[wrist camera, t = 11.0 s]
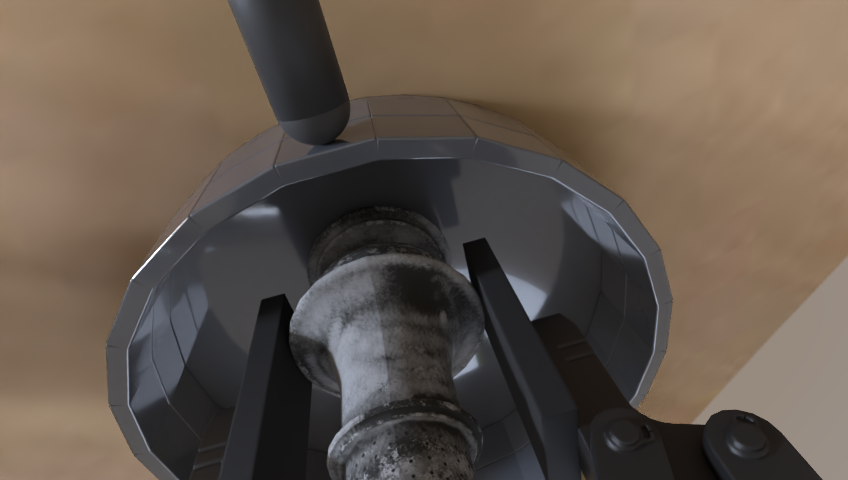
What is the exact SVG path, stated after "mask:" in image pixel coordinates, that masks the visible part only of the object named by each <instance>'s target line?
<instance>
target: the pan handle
mask: <svg viewBox="0 0 848 480" xmlns="http://www.w3.org/2000/svg"><path fill="white" fill-rule="evenodd" d="M228 2H229V4H230V7H231V9H232V12H233V14H234V17H235V19H236V21H237V24H238V26H239V29H240V31H241V34H242V36H243V38H244V41H245V43H246V46H247V48H248V51H249V53H250V55H251V58H252V60H253V63H254V65H255V68H256V70H257V72H258V75H259V77H260V80H261V82H262V85H263V87H264V89H265V92H266V94H267V97H268V99H269V102H270V104H271V107H272V109H273V111H274V114H275V116H276V119H277V121H278V123H279V124H280V126H281V127H282V129H283V130H284V131H285V132H286V133H287V134H288V135H289V136H290V137H291V138H293V139H295V140H296V141H298V142H301V143H304V144H307V145H322V144H326V143H328V142H331V141H333V140H334V139H336V138H337V137H338V136H339V135H340V134H341V133H342V132H343V131H344V129H345V128H346V126H347V124H348V121H349V117H350V101H349V96H348V93H347V90H346V87H345V84H344V80H343V77H342V74H341V71H340V67H339V64H338V61H337V58H336V55H335V51H334V48H333V45H332V42H331V38H330V35H329V32H328V29H327V26H326V22H325V19H324V16H323V13H322V10H321V6H320V3H319V0H228Z"/></svg>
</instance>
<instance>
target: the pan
mask: <svg viewBox="0 0 848 480" xmlns="http://www.w3.org/2000/svg"><path fill="white" fill-rule="evenodd" d="M381 205H385V206H394V207H403V208H406V209H408V210H411V211H414V212H416V213H419V214H421V215H423V216H424V217H425V218H427V219H428V220H430V221H431V222H432V223H434V224H435V225H436V226H437V227H438V229H439V230H440V231H441V233H442V234H443V235H444V237H445V238H446V241H447V244H448V246H449V249H450V252H451V261H452V268H454V269H455V270H457V271H458V272H460V273H461V274H463V275H464V276H465V277H466V278H467V279H468V280H469V282H470V277H469V273H468V268H467V263H466V258H465V253H464V249H463V243H466V242H470V241H474V240H477V239H481V238H484V237H485V238H486V240H487V242H488V243H489V245H490V247H491V249H492V251H493V253H494V254H495V256H496V258H497V260H498V262H499V264H500V265H501V267H502V269H503V271H504V273H505V275H506V276H507V278H508V280H509V282H510V284H511V286H512V287H513V289H514V291H515V293H516V295H517V297H518V298H519V300H520V302H521V304H522V306H523V308H524V309H525V311H526V313H527V315H528V317H529V319H530V320H531V321H533V320H536V319H540V318H543V317H547V316H550V315H554V314H557V313H560V314H562V315H563V316H565V317H566V318H568V319H569V320H571V321H572V322H574V323H575V324H576V325H577V327H578V328H579V330H580V331H581V333H582V334H583V336H584V337H585V339H586V342H588V343H589V345H590V346H591V348H592V349H593V351H594V354H596V355H597V357H598V358H599V360H600V361H601V363H602V364H603V366H604V367H605V369H606V370H607V372H608V373H609V375H610V376H611V378H612V379H613V381H614V382H615V384H616V385H617V387H618V388H619V390H620V391H621V393H622V394H623V396H624V397H625V399H626V400H627V401H628V402H629V404H630V405H631V406H632V407H633V408H634V409H636V408H637V407H638V405H639V404H640V403H641V401H642V400H643V399H644V398H645V396H646V394H647V393H648V391H649V388H650V386H651V384H652V382H653V379H654V377H655V375H656V373H657V370H658V368H659V366H660V364H661V362H662V359H663V357H664V355H665V353H666V349H667V344H668V336H669V327H670V319H671V311H672V303H673V301H672V300H673V298H672V294H671V290H670V286H669V282H668V278H667V274H666V270H665V266H664V262H663V258H662V254H661V250H660V248H659V246H658V244H657V243H656V242H655V240H654V239H653V238H652V236H651V235H650V233H649V232H648V231H647V229H646V228H645V227H644V225H643V224H642V223H641V221H640V220H639V218H638V217H637V216H636V214H635V213H634V212H633V210H632V209H631V207H630V206H629V205H628V203H627V202H626V201H625V200H624V199H623V198H622V197H621V196H620V195H619V194H617V193H616V192H615V191H613V190H612V189H611V188H610V187H608V186H607V185H606V184H605V183H603V182H602V181H601V180H600V179H598V178H597V177H596V176H595V175H593V174H592V173H591V172H590V171H588V170H587V169H586V168H585V167H583V166H582V165H581V164H580V163H578V162H577V161H576V160H574V159H573V158H572V157H571V156H569V155H568V154H567V153H566V152H564V151H563V150H561V149H559V148H558V147H556V146H555V145H553V144H552V143H550V142H549V141H547V140H546V139H544V138H543V137H542V136H540V135H539V134H538V133H536V132H535V131H533V130H531V129H530V128H528V127H526V126H525V125H523V124H522V123H520V122H519V121H517V120H514V119H513V118H510V117H508V116H505V115H503V114H500V113H497V112H494V111H492V110H489V109H486V108H484V107H481V106H478V105H475V104H470V103H466V102H461V101H456V100H452V99H447V98H442V97H429V96H415V95H393V96H377V97H365V98H360V99H355V100H350V117H349V121H348V124H347V126H346V128H345V129H344V131H343V132H342V133H341V134H340V135H339V136H338V137H337V138H336V139H334V140H333V141H331V142H328V143H326V144H322V145H307V144H304V143H301V142H298V141H296V140H295V139H293V138H291V137H290V136H289V135H288V134H287V133H286V132H285V131H284V130H283V129H282V127H281V126H280V124H278V125H276V126H274V127H272V128H270V129H268V130H266V131H264V132H262V133H260V134H258V135H257V136H255V137H254V138H253V139H251V140H250V141H248V142H247V143H246V144H244V145H243V146H241V147H240V148H238V149H237V150H236V151H234V152H233V153H231V154H230V155H229V156H227V157H226V158H225V159H224V160H223V161H222V162H220V163H219V165H218V166H217V167H216V168H215V169H214V170H213V171H212V172H211V173H210V174H209V175H208V176H207V177H206V178H205V179H204V180H203V181H202V182H201V184H200V185H199V186H198V188H197V189H196V190H195V192H194V193H193V194H192V195H191V196H190V197H189V198H188V199H187V201H186V202H185V203H184V204H183V205H182V206H181V207H180V208H179V209H178V211H177V212H176V214H175V215H174V216H173V218H172V219H171V221H170V222H169V224H168V225H167V227H166V228H165V230H164V231H163V233H162V234H161V236H160V237H159V239H158V240H157V241H156V243H155V244H154V246H153V247H152V249H151V250H150V252H149V253H148V255H147V256H146V258H145V259H144V260H143V262H142V263H141V265H140V266H139V268H138V269H137V271H136V272H135V274H134V275H133V277H132V278H131V280H130V282H129V285H128V287H127V290H126V293H125V295H124V298H123V300H122V303H121V305H120V308H119V311H118V313H117V316H116V318H115V321H114V324H113V326H112V329H111V331H110V334H109V336H108V339H107V342H106V344H107V345H106V361H107V381H108V402H109V404H110V405H109V407H110V409H111V411H112V413H113V415H114V417H115V419H116V421H117V423H118V425H119V427H120V429H121V431H122V433H123V435H124V437H125V439H126V441H127V443H128V445H129V447H130V449H131V451H132V453H133V454H134V456H135V457H136V458H137V459H138V460H139V461H140V462H141V463H142V464H143V465H144V466H145V467H146V468H147V469H148V470H149V471H150V472H151V473H152V474H153V475H154V476H156V477H157V478H158V479H159V480H189V478H190V475H191V471H193V469H194V468H193V465H194V461H195V458H196V454H198V448H199V444H200V441H201V438H202V434H203V431H204V429H205V428H206V426H207V425H208V423H209V422H210V420H211V419H212V417H213V416H214V414H215V413H216V411H219V410H223V409H226V408H230V407H233V406H236V403H237V399H238V395H239V390H240V386H241V382H242V378H243V374H244V370H245V366H246V361H247V357H248V353H249V349H250V345H251V341H252V337H253V332H254V328H255V324H256V320H257V316H258V312H259V307H260V303H261V300H262V299H266V298H269V297H273V296H276V295H280V294H284V293H285V295H286V297H287V299H288V301H289V303H290V305H291V307H292V309H293V311H294V312H295V309H296V307H297V305H298V303H299V300H300V299H301V298H302V297H303V296H304V295H305V293H306V292H307V291H308V290H309V289H310V285H309V281H308V277H307V267H308V257H309V254H310V252H311V249H312V247H313V245H314V242H315V240H316V239H317V238H318V237H319V235H320V234H321V233H322V232H323V231H324V229H325V228H326V227H327V226H328V225H330V224H331V223H333V222H334V221H335V220H337V219H338V218H340V217H341V216H343V215H345V214H347V213H350V212H353V211H355V210H358V209H361V208H365V207H373V206H381ZM470 283H471V282H470ZM453 380H454V384H455V387H456V391H457V394H458V398H459V402H460V405H461V408H462V409H464V410H466V411H468V412H469V413H470V414H471V415H472V416H473V417H474V418H475V419H476V420H477V422H478V424H479V427H480V429H481V431H482V434H483V449H482V451H481V454H480V456H479V459H478V461H477V462H476V464H475V465H474V469H475V472H476V476H477V480H545V477H544V475H543V472H542V470H541V467H540V465H539V462H538V460H537V457H536V455H535V452H534V450H533V447H532V445H531V442H530V440H529V437H528V435H527V432H526V430H525V428H524V425H523V423H522V420H521V418H520V415H519V413H518V410H517V408H516V405H515V403H514V400H513V398H512V395H511V393H510V390H509V388H508V385H507V383H506V380H505V378H504V376H503V373H502V371H501V368H500V366H499V363H498V361H497V358H496V356H495V353H494V351H493V348H492V346H491V343H490V341H489V338H488V336H487V333H486V331H485V332H484V335H483V337H482V340H481V343H480V346H479V349H478V351H477V352H476V353H475V355H474V356H473V358H472V359H471V360H470V362H469V363H468V365H467V366H466V367H465V368H464V369H463V370H462V371H461V372H460V373H459V374H457V375H456V376H455V377H454V378H453ZM340 430H341V398H339V397H337V396H335V395H332V394H330V393H328V392H325V391H323V390H322V389H320V388H319V387H318V386H316V385H315V384H314V383H312V395H311V410H310V424H309V439H308V454H307V468H306V480H332V478H331V477H330V474H329V471H328V468H327V455H328V448H329V446H330V444H331V442H332V441H333V439H334V437H335V435H336V434H337V433H338V432H339V431H340Z"/></svg>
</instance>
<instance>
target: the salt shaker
mask: <svg viewBox="0 0 848 480" xmlns="http://www.w3.org/2000/svg"><path fill="white" fill-rule="evenodd" d="M307 277H308V281H309V285H310V289H309V290H308V291H307V292H306V293H305V295H304V296H303V297H302V298H301V299H300V300H299V303H298V305H297V307H296V309H295V312H294V314H293V316H292V318H291V321H290V333H289V346H290V349H291V352H292V356H293V359H294V361H295V363H296V365H297V366H298V367H299V369H300V370H301V372H302V373H303V374H304V376H305V377H306V378H307V379H308V380H310V381H311V382H312V383H314V384H315V385H316V386H318V387H319V388H320V389H322V390H323V391H325V392H328V393H330V394H332V395H335V396H337V397H339V398H341V430H340V431H339V432H338V433H337V434H336V435H335V437H334V439H333V441H332V442H331V444H330V446H329V448H328V455H327V468H328V471H329V474H330V477H331V478H332V480H477V476H476V472H475V469H474V465H475V464H476V462H477V461H478V459H479V456H480V454H481V451H482V449H483V434H482V431H481V429H480V427H479V424H478V422H477V420H476V419H475V418H474V417H473V416H472V415H471V414H470V413H469V412H468V411H466V410H464V409H462V408H461V405H460V402H459V398H458V394H457V391H456V387H455V384H454V380H453V378H454V377H455V376H456V375H457V374H459V373H460V372H461V371H462V370H463V369H464V368H465V367H466V366H467V365H468V363H469V362H470V360H471V359H472V358H473V356H474V355H475V353H476V352H477V351H478V349H479V346H480V343H481V340H482V337H483V335H484V332H485V314H484V310H483V305H482V302H481V299H480V296H479V294H478V292H477V291H476V289H475V288H474V287H473V285H472V284H471V283H470V282H469V280H468V279H467V278H466V277H465V276H464V275H463V274H461V273H460V272H458V271H457V270H455V269H454V268H452V261H451V252H450V249H449V246H448V244H447V241H446V238H445V237H444V235H443V234H442V233H441V231H440V230H439V229H438V227H437V226H436V225H435V224H434V223H432V222H431V221H430V220H428V219H427V218H425V217H424V216H423V215H421V214H419V213H416V212H414V211H411V210H408V209H406V208H403V207H394V206H385V205H381V206H373V207H365V208H361V209H358V210H355V211H353V212H350V213H347V214H345V215H343V216H341V217H340V218H338V219H337V220H335V221H334V222H333V223H331V224H330V225H328V226H327V227H326V228H325V229H324V231H323V232H322V233H321V234H320V235H319V237H318V238H317V239H316V240H315V242H314V245H313V247H312V249H311V252H310V254H309V257H308V267H307Z"/></svg>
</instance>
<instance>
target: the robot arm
mask: <svg viewBox="0 0 848 480" xmlns="http://www.w3.org/2000/svg"><path fill="white" fill-rule="evenodd" d="M463 249H464V253H465V258H466V263H467V268H468V273H469V277H470V282H471V284H472V285H473V287H474V288H475V289H476V291H477V292H478V294H479V296H480V299H481V302H482V305H483V310H484V314H485V331H486V333H487V336H488V338H489V341H490V343H491V346H492V348H493V351H494V353H495V356H496V358H497V361H498V363H499V366H500V368H501V371H502V373H503V376H504V378H505V380H506V383H507V385H508V388H509V390H510V393H511V395H512V398H513V400H514V403H515V405H516V408H517V410H518V413H519V415H520V418H521V420H522V423H523V425H524V428H525V430H526V432H527V435H528V437H529V440H530V442H531V445H532V447H533V450H534V452H535V455H536V457H537V460H538V462H539V465H540V467H541V470H542V472H543V475H544V477H545V480H582V479H581V471H582V473H583V475H584V477H585V479H586V480H822V479H821V477H820V476H819V475H818V474H817V473H816V472H815V471H814V469H813V468H812V467H811V466H810V465H809V464H808V463H807V461H806V460H805V459H804V458H803V457H802V456H801V455H800V454H799V452H798V451H797V450H796V449H795V448H794V447H793V446H792V444H791V443H790V442H789V441H788V440H787V439H786V438H785V436H784V435H783V434H782V433H781V432H780V431H779V430H777V429H776V428H775V427H774V426H773V425H772V424H771V423H769V422H768V421H766V420H764V419H762V418H760V417H758V416H756V415H755V414H753V413H748V412H744V411H739V410H722V411H720V412H718V413H716V414H713V415H712V416H711V417H710V418H709V420H708V421H707V423H706V424H705V425H695V424H671V423H664V422H659V421H656V420H653V419H650V418H648V417H647V416H645V415H643V414H641V413H640V412H638V411H637V410H636V409H634V408H633V407H632V406H631V405H630V404H629V402H628V401H627V400H626V399H625V397H624V396H623V394H622V393H621V391H620V390H619V388H618V387H617V385H616V384H615V382H614V381H613V379H612V378H611V376H610V375H609V373H608V372H607V370H606V369H605V367H604V366H603V364H602V363H601V361H600V360H599V358H598V357H597V355H596V354H594V351H593V349H592V348H591V346H590V345H589V343H588V342H586V339H585V337H584V336H583V334H582V333H581V331H580V330H579V328H578V327H577V325H576V324H575V323H574V322H572V321H571V320H569V319H568V318H566V317H565V316H563V315H562V314H560V313H557V314H554V315H550V316H547V317H543V318H540V319H536V320H533V321H531V320H530V319H529V317H528V315H527V313H526V311H525V309H524V308H523V306H522V304H521V302H520V300H519V298H518V297H517V295H516V293H515V291H514V289H513V287H512V286H511V284H510V282H509V280H508V278H507V276H506V275H505V273H504V271H503V269H502V267H501V265H500V264H499V262H498V260H497V258H496V256H495V254H494V253H493V251H492V249H491V247H490V245H489V243H488V242H487V240H486V238H485V237H484V238H481V239H477V240H474V241H470V242H466V243H463ZM293 314H294V311H293V309H292V307H291V305H290V303H289V301H288V299H287V297H286V295H285V293H284V294H280V295H276V296H273V297H269V298H266V299H262V300H261V303H260V307H259V312H258V316H257V320H256V324H255V328H254V332H253V337H252V341H251V345H250V349H249V353H248V357H247V361H246V366H245V370H244V374H243V378H242V382H241V386H240V390H239V395H238V399H237V403H236V406H233V407H230V408H226V409H223V410H219V411H216V413H215V414H214V416H213V417H212V419H211V420H210V422H209V423H208V425H207V426H206V428H205V429H204V431H203V434H202V438H201V441H200V444H199V448H198V454H196V458H195V461H194V465H193V468H194V469H193V471H191V475H190V478H189V480H306V468H307V454H308V439H309V424H310V410H311V395H312V382H311V381H310V380H308V379H307V378H306V377H305V376H304V374H303V373H302V372H301V370H300V369H299V367H298V366H297V365H296V363H295V361H294V359H293V356H292V352H291V349H290V346H289V333H290V321H291V318H292V316H293Z"/></svg>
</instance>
